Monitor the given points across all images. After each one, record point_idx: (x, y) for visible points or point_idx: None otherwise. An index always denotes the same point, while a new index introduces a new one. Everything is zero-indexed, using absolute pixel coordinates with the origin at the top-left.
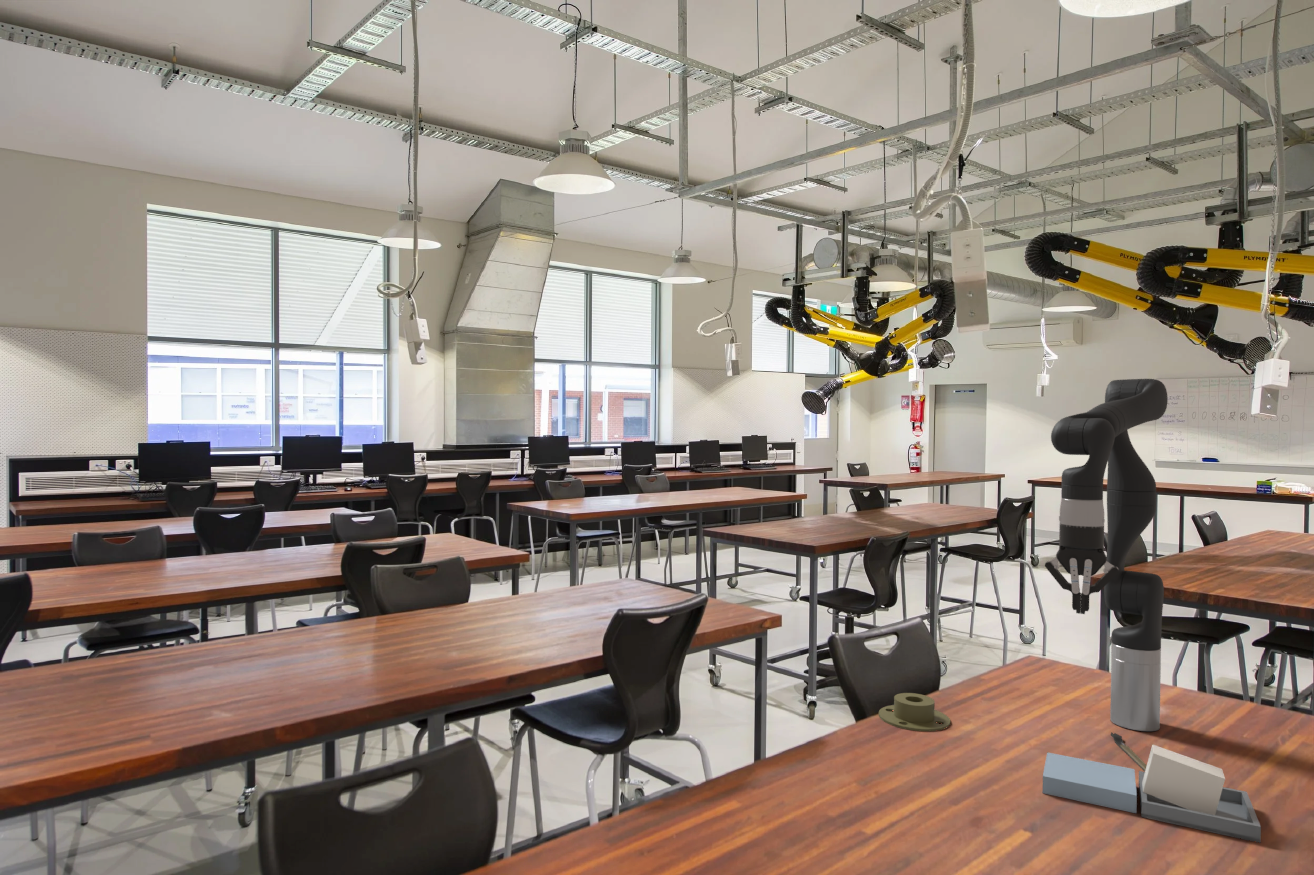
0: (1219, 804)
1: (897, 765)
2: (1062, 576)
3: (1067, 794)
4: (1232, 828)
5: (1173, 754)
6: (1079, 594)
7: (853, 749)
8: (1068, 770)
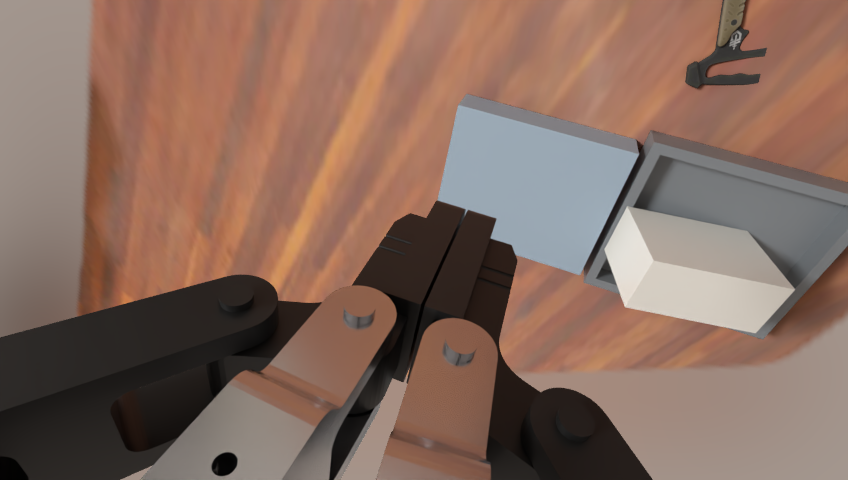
0: (783, 212)
1: (223, 158)
2: (133, 384)
3: None
4: None
5: (686, 284)
6: (395, 377)
7: (145, 108)
8: (483, 194)
